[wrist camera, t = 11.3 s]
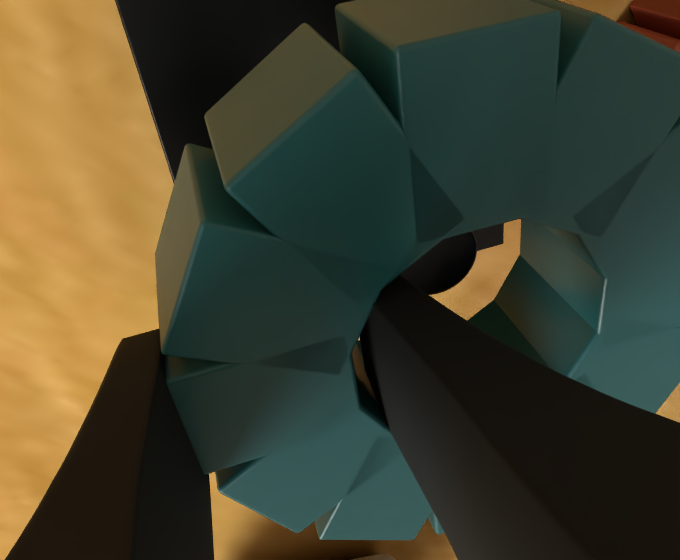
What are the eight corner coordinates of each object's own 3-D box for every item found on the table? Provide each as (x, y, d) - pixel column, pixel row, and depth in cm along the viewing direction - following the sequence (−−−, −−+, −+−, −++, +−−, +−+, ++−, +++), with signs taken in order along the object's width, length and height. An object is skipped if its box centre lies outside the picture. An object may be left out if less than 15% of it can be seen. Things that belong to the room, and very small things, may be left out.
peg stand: (485, -91, 15) (702, -63, 9) (486, 226, 20) (626, 368, 15) (113, -19, 14) (100, 65, 8) (214, 300, 19) (250, 488, 13)
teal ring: (683, -70, 10) (836, -52, 8) (613, 367, 15) (692, 449, 13) (71, 58, 8) (51, 123, 6) (234, 487, 14) (252, 600, 12)
